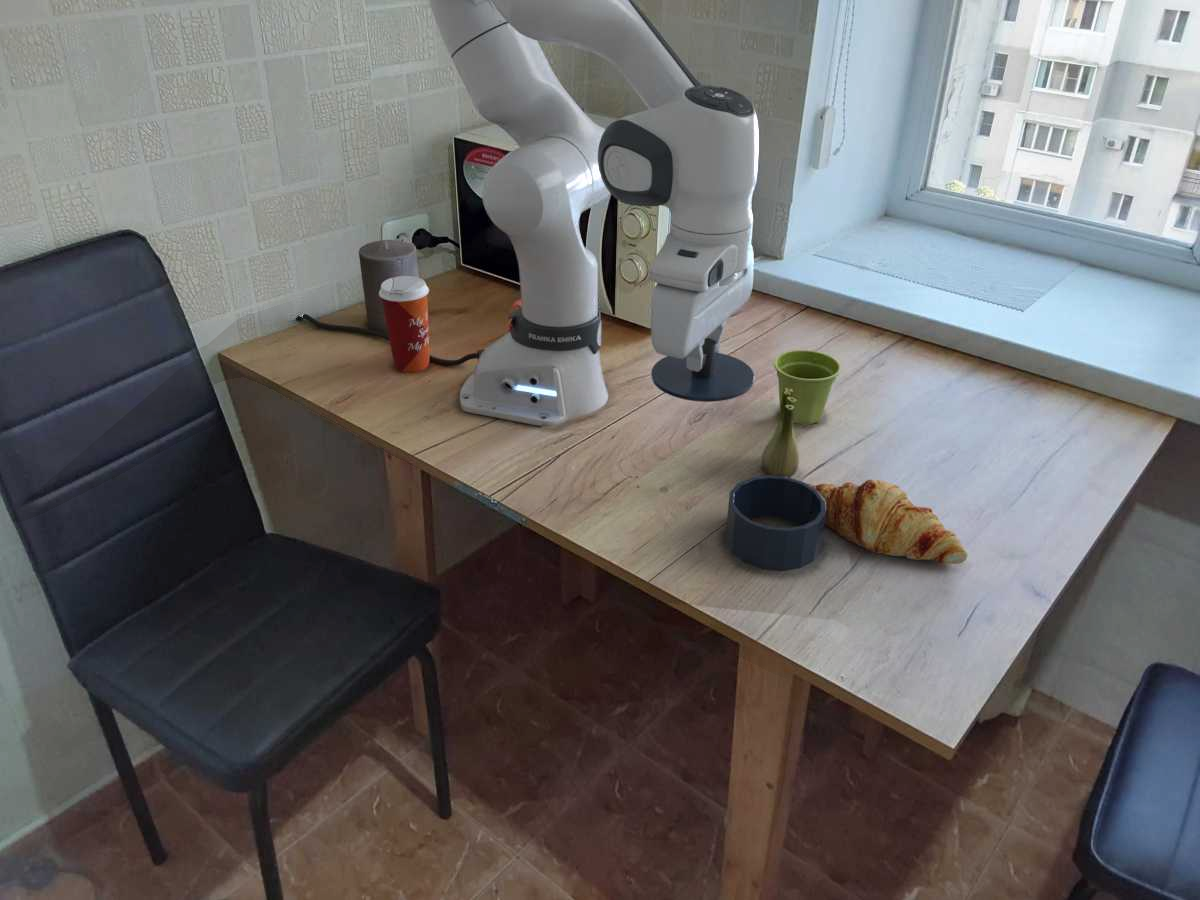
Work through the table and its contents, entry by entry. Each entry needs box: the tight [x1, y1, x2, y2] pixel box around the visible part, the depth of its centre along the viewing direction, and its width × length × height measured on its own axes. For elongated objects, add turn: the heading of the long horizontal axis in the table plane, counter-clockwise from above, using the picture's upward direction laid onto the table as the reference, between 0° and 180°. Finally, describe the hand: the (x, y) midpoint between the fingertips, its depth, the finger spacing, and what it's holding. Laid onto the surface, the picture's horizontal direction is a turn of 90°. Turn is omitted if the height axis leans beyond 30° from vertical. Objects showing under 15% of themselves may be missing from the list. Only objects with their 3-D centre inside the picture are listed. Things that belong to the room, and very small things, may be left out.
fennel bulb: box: [760, 388, 800, 478], centre depth 126 cm, size 6×5×12 cm
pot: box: [724, 474, 826, 572], centre depth 114 cm, size 11×11×6 cm
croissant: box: [806, 479, 968, 565], centre depth 116 cm, size 21×10×8 cm, turn 53°
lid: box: [650, 338, 755, 403], centre depth 112 cm, size 12×12×5 cm
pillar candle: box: [358, 239, 420, 335], centre depth 166 cm, size 10×10×15 cm
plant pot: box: [773, 349, 842, 425], centre depth 140 cm, size 9×9×9 cm
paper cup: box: [379, 276, 430, 374], centre depth 152 cm, size 8×8×14 cm
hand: (702, 361), depth 112 cm, fingers closed on lid, 2 cm apart
